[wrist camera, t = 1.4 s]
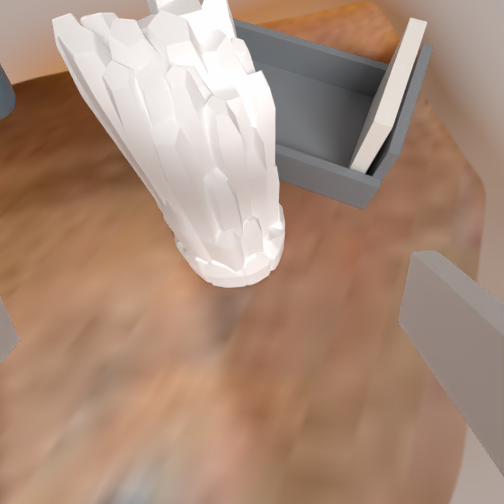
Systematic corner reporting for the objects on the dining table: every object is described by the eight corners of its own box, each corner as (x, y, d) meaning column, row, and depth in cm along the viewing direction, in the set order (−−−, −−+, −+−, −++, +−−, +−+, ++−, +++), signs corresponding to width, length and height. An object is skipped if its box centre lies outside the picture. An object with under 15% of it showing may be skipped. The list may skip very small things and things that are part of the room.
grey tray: (172, 142, 39) (151, 83, 31) (226, 51, 44) (219, -22, 36) (363, 209, 37) (396, 164, 28) (398, 104, 41) (435, 39, 33)
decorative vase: (269, 185, 37) (263, -129, 13) (296, 273, 33) (354, 56, 10) (176, 209, 37) (2, -68, 13) (194, 300, 33) (1, 144, 10)
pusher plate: (342, 184, 36) (373, 121, 27) (373, 98, 40) (410, 17, 31) (361, 190, 36) (399, 129, 27) (390, 104, 40) (433, 23, 30)
